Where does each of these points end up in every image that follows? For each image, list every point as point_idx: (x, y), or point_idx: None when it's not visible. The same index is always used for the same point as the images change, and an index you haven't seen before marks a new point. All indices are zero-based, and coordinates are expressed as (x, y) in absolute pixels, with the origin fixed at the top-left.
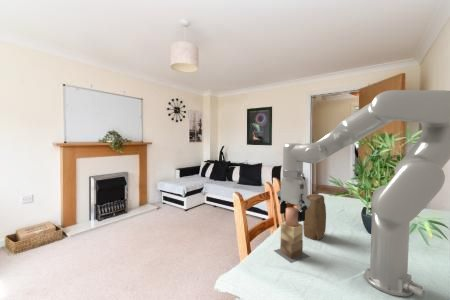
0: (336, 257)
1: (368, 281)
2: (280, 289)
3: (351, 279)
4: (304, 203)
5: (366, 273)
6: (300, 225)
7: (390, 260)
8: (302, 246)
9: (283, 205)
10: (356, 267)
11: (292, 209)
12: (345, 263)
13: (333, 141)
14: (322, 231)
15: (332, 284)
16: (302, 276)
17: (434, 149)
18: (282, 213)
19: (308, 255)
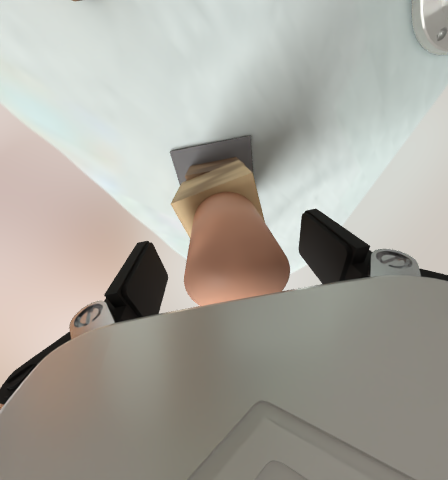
0: (291, 9)
1: (430, 49)
2: (302, 262)
3: (380, 95)
4: (415, 287)
5: (429, 9)
6: (255, 192)
7: None
8: (240, 161)
9: (147, 311)
10: None
11: (240, 281)
12: (334, 13)
13: None
14: None
15: (352, 168)
16: (299, 212)
17: None
18: (165, 270)
19: (244, 137)
